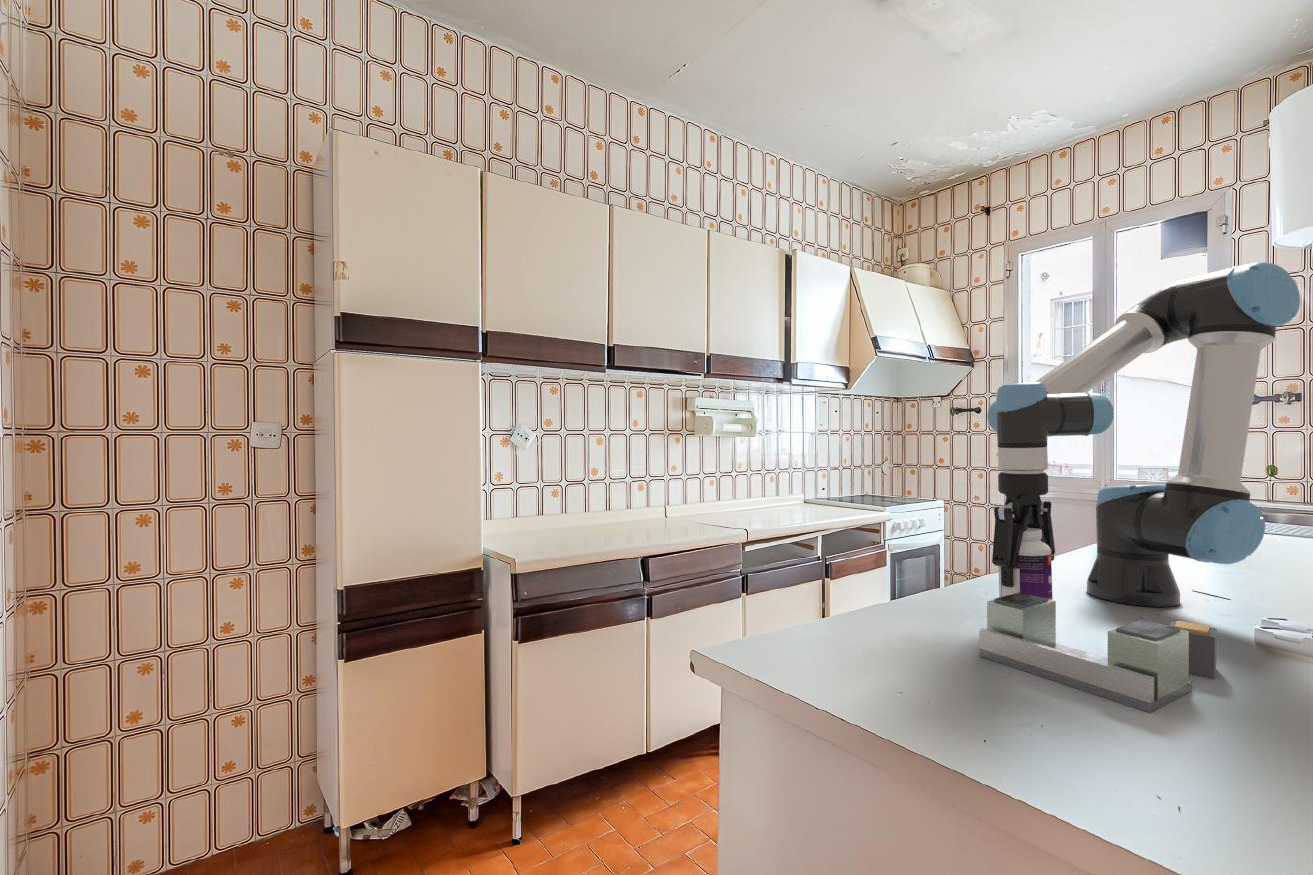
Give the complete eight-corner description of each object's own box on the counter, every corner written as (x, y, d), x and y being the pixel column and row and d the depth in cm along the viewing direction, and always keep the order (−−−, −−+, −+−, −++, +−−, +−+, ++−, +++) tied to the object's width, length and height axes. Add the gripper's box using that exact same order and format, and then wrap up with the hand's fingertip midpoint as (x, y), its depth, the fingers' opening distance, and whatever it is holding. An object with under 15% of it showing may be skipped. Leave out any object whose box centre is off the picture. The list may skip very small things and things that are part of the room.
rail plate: (1023, 641, 100) (1023, 589, 100) (1191, 690, 81) (1191, 626, 81) (979, 656, 94) (979, 600, 94) (1150, 712, 75) (1150, 643, 75)
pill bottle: (1061, 618, 103) (1059, 533, 102) (1009, 617, 104) (1007, 533, 104) (1041, 604, 110) (1039, 525, 110) (992, 603, 112) (991, 525, 112)
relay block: (1171, 660, 92) (1171, 618, 92) (1216, 669, 88) (1216, 625, 88) (1167, 670, 88) (1167, 626, 88) (1214, 680, 85) (1214, 634, 85)
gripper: (1033, 466, 115) (1036, 586, 116) (965, 474, 105) (969, 605, 105) (1076, 468, 109) (1079, 595, 109) (1009, 476, 98) (1012, 616, 99)
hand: (1025, 600), depth 107 cm, fingers closed on pill bottle, 8 cm apart
